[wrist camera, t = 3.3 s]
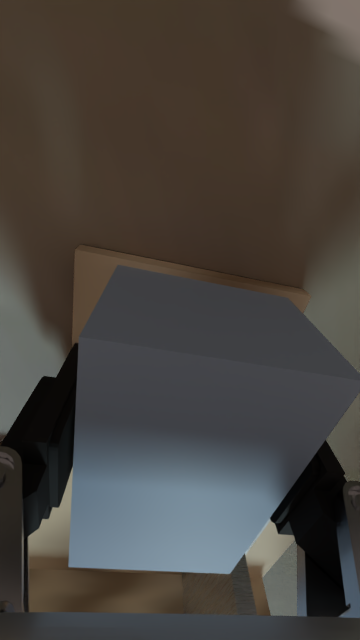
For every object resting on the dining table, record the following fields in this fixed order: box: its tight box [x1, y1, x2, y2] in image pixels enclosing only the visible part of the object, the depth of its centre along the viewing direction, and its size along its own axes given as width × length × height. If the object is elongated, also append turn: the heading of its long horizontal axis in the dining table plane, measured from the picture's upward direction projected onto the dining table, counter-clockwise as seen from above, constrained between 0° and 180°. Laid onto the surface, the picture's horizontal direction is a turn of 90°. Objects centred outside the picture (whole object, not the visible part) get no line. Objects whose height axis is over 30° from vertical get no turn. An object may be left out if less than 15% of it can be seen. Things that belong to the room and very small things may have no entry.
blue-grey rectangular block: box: [68, 265, 360, 574], centre depth 9 cm, size 6×9×4 cm, turn 168°
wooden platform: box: [0, 245, 311, 616], centre depth 11 cm, size 24×24×6 cm
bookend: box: [182, 518, 270, 615], centre depth 14 cm, size 3×9×5 cm, turn 168°
